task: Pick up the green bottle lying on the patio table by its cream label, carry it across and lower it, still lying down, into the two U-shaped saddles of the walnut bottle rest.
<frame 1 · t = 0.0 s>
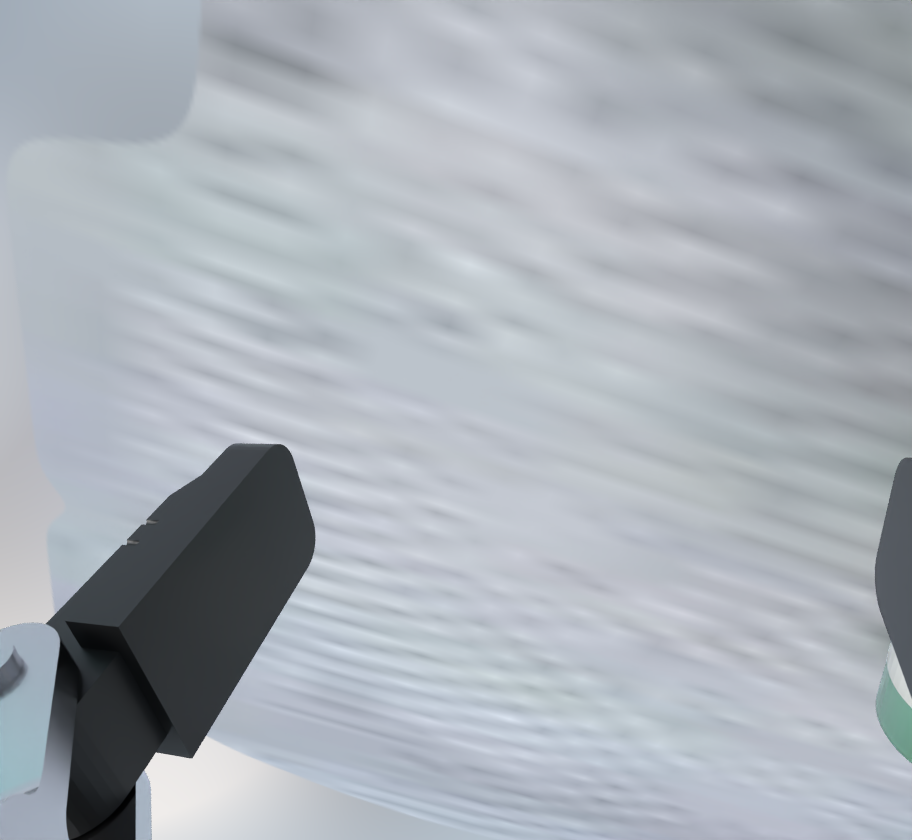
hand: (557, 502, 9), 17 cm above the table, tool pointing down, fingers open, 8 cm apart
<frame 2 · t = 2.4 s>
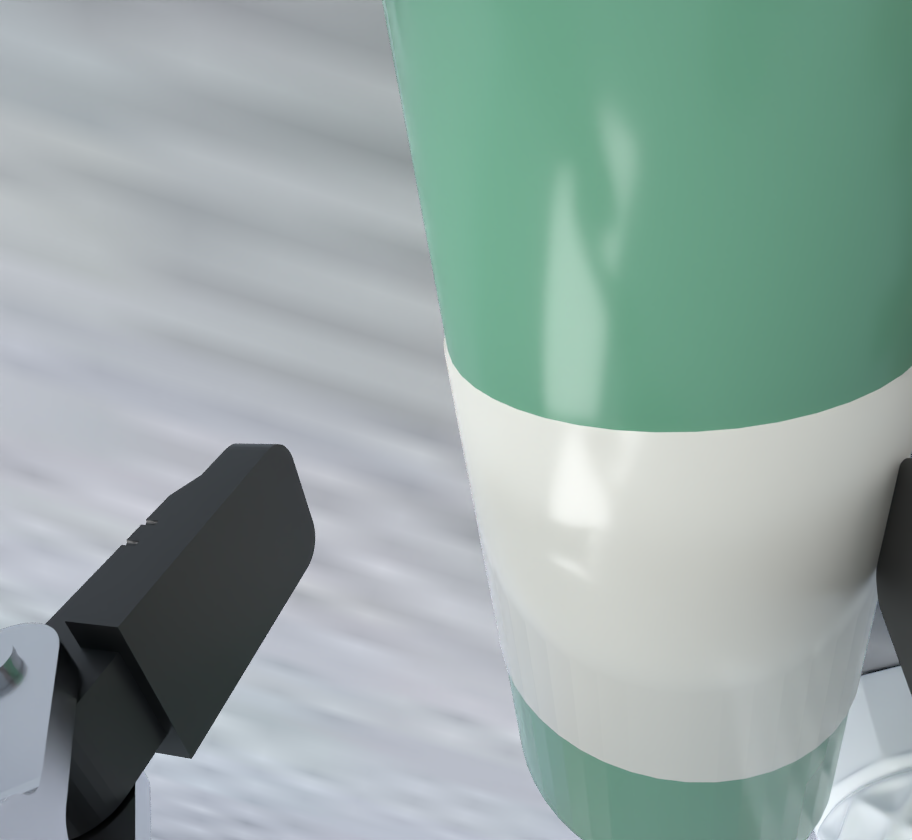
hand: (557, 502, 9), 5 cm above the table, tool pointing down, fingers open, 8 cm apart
green bottle: (567, 358, 13), on the table, tilted 34°, touching gripper
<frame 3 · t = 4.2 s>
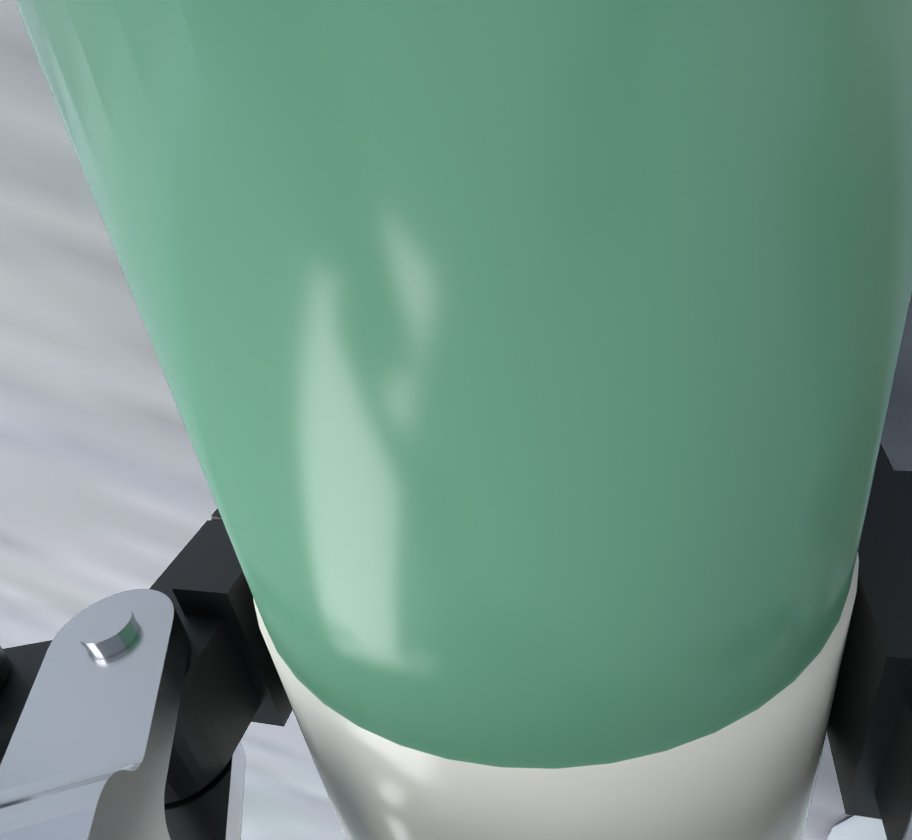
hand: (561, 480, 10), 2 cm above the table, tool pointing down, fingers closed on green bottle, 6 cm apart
green bottle: (535, 486, 11), point 1 cm above the table, tilted 12°, touching gripper
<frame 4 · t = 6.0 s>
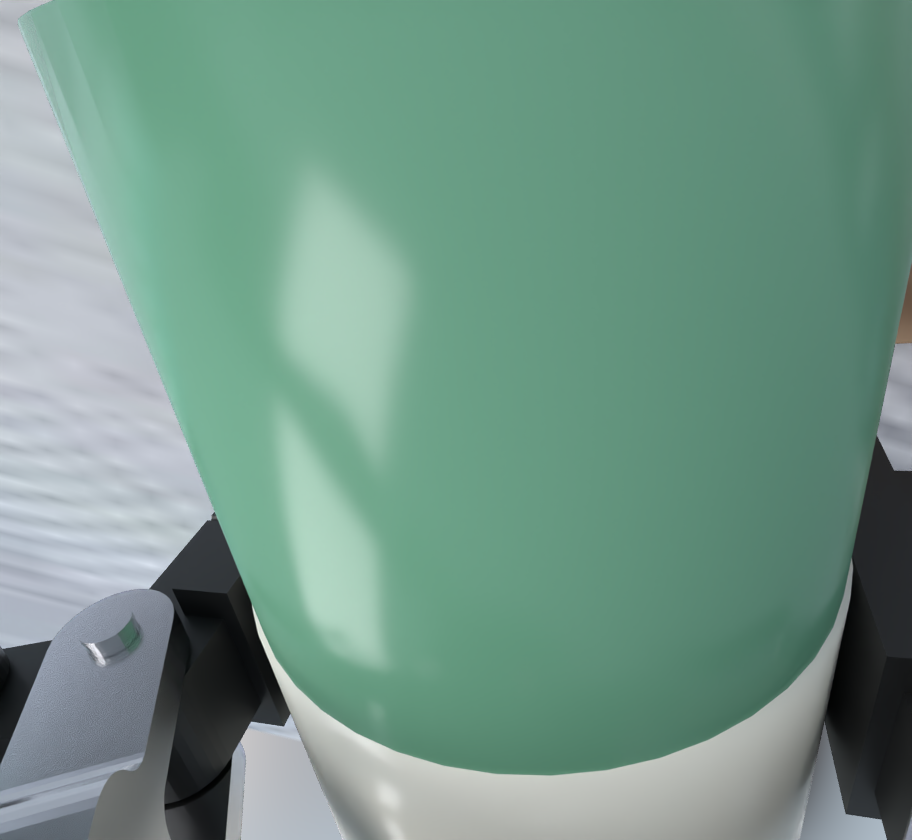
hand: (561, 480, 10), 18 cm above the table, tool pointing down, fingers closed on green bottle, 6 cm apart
bottle rest: (889, 21, 20), on the table
green bottle: (533, 490, 11), point 17 cm above the table, tilted 11°, touching gripper
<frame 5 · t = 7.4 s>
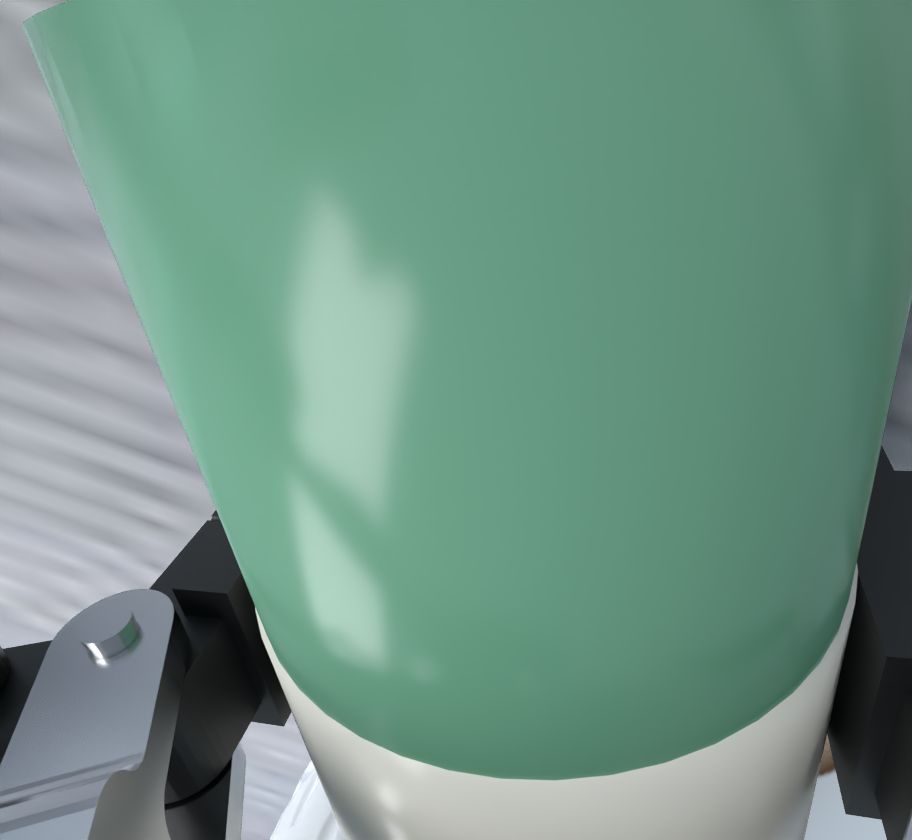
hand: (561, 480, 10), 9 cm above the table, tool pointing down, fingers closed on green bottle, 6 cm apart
white cup: (423, 712, 29), on the table
green bottle: (535, 492, 11), point 8 cm above the table, tilted 11°, touching gripper
when the fingers open (5 cm above the table, at t = 8.6 s): green bottle drops 1 cm, resting on bottle rest.
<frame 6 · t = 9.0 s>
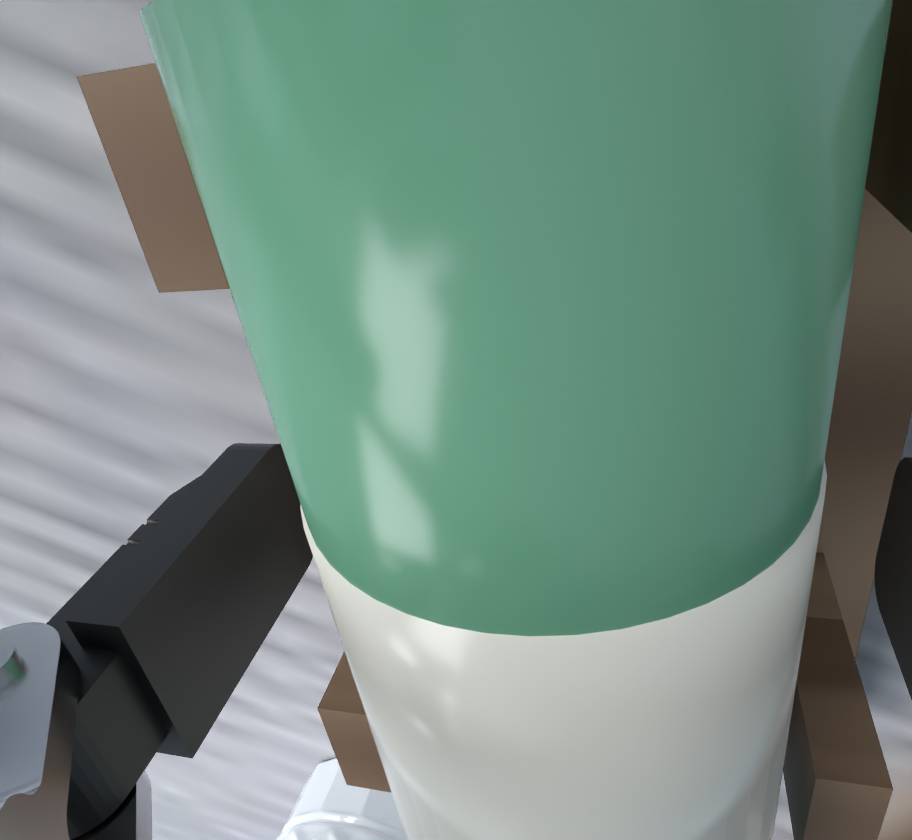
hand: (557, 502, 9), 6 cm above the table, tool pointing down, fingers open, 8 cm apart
white cup: (392, 801, 26), on the table
bottle rest: (591, 355, 14), on the table
green bottle: (540, 447, 12), point 3 cm above the table, tilted 13°, touching bottle rest
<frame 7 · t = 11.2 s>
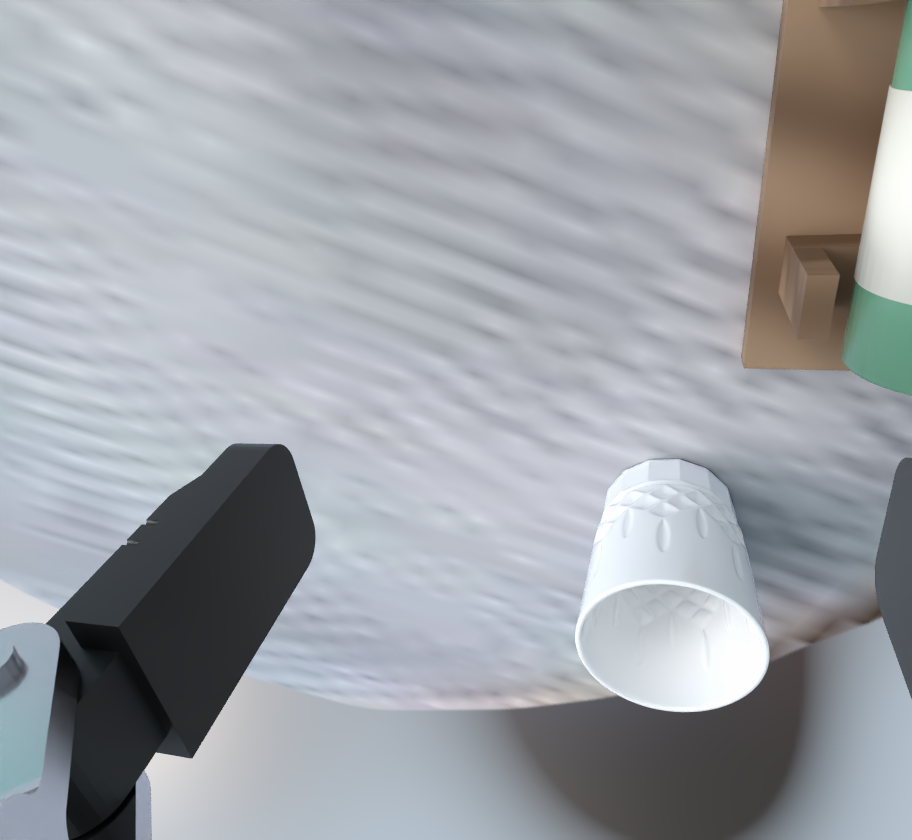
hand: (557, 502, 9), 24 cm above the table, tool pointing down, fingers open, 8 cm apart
white cup: (667, 505, 37), on the table
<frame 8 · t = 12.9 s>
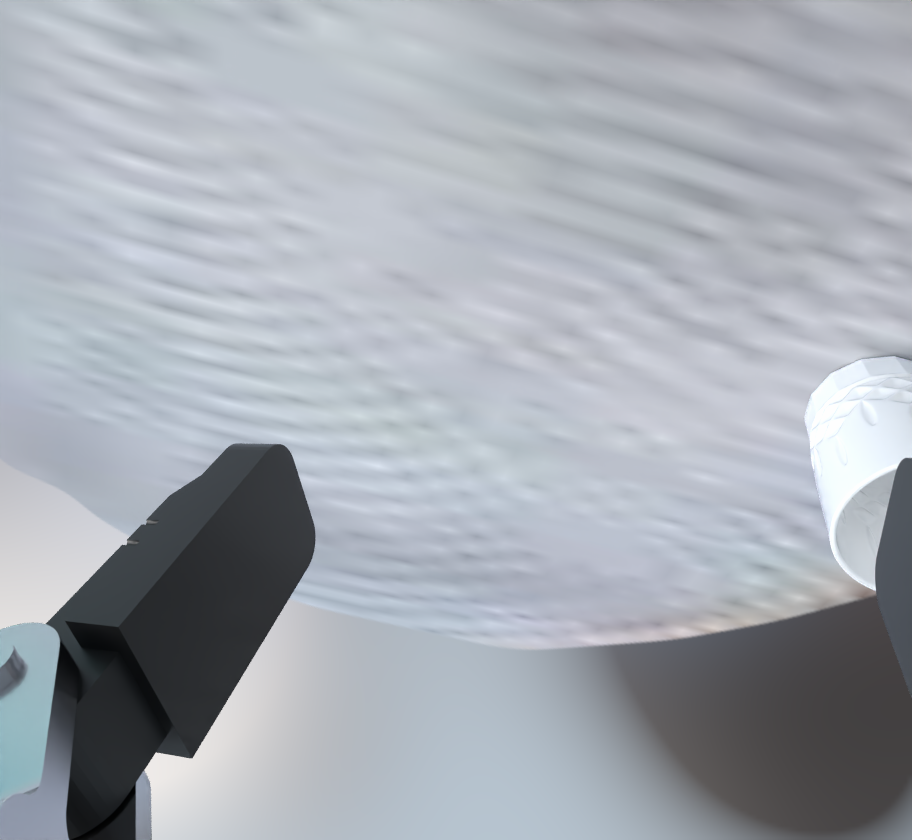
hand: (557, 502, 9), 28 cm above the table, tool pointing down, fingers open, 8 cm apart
white cup: (872, 408, 37), on the table
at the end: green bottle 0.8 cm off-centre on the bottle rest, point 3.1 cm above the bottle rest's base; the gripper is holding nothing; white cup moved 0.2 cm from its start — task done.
